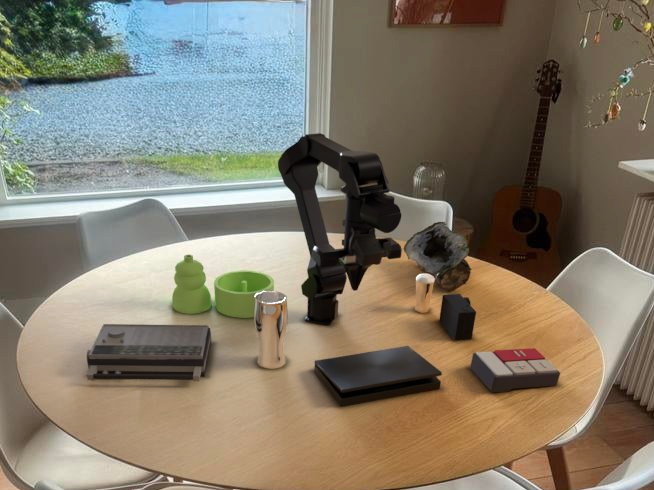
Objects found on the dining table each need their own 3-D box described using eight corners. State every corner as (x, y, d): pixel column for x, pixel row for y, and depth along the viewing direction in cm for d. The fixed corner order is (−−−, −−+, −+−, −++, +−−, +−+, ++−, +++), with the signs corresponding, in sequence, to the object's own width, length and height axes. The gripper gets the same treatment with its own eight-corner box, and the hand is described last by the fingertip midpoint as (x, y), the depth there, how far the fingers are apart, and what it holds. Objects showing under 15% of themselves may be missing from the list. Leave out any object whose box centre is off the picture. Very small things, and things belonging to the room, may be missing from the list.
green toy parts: (273, 293, 187) (272, 245, 180) (274, 317, 176) (274, 267, 168) (175, 293, 186) (171, 245, 178) (170, 318, 174) (165, 267, 167)
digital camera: (476, 339, 168) (481, 311, 164) (454, 340, 167) (459, 312, 163) (460, 319, 176) (464, 292, 172) (439, 321, 175) (442, 294, 171)
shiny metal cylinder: (433, 315, 178) (438, 276, 172) (411, 312, 179) (416, 273, 173) (434, 307, 182) (439, 269, 176) (413, 305, 183) (417, 267, 177)
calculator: (562, 370, 149) (496, 374, 146) (556, 388, 152) (491, 392, 148) (536, 345, 158) (473, 349, 154) (531, 363, 160) (469, 367, 157)
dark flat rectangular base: (439, 389, 149) (441, 380, 148) (341, 406, 143) (341, 398, 142) (407, 356, 161) (407, 348, 160) (314, 371, 154) (314, 363, 153)
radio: (210, 320, 161) (200, 364, 145) (211, 342, 164) (202, 387, 148) (99, 319, 161) (78, 362, 145) (103, 341, 164) (82, 385, 148)
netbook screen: (441, 375, 148) (442, 372, 147) (341, 393, 141) (341, 389, 141) (407, 348, 160) (408, 345, 159) (314, 364, 153) (314, 360, 153)
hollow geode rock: (453, 316, 189) (499, 276, 183) (422, 285, 182) (470, 242, 177) (426, 272, 211) (467, 235, 205) (398, 243, 204) (439, 204, 199)
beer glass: (263, 372, 154) (262, 306, 145) (250, 358, 159) (248, 293, 150) (292, 365, 156) (293, 300, 147) (278, 352, 161) (278, 288, 152)
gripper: (331, 235, 142) (328, 310, 151) (417, 226, 147) (409, 298, 156) (311, 218, 150) (309, 289, 159) (393, 210, 156) (386, 279, 165)
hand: (354, 289), depth 160 cm, fingers closed
